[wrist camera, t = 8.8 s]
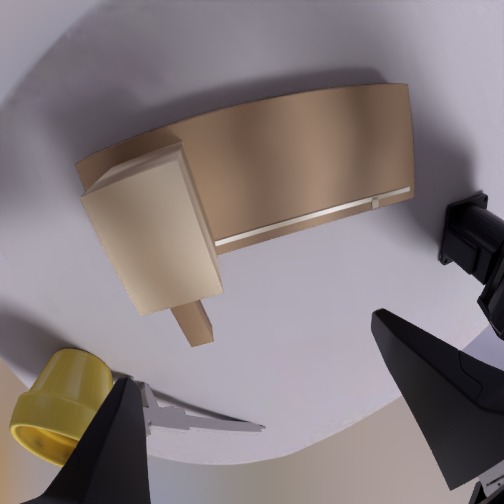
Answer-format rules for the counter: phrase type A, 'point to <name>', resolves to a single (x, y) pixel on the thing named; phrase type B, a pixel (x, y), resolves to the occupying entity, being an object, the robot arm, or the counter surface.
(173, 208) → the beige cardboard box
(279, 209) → the walnut board
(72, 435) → the plant pot
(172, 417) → the caliper
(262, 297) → the counter surface
